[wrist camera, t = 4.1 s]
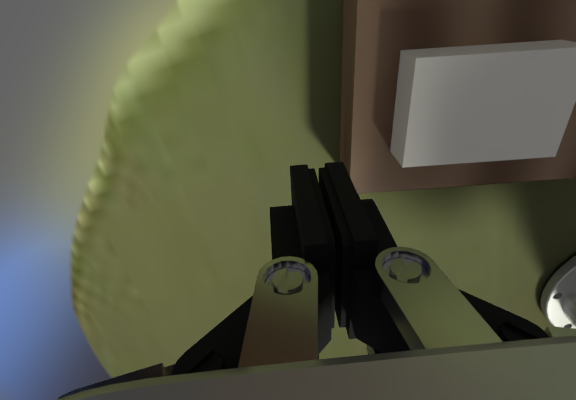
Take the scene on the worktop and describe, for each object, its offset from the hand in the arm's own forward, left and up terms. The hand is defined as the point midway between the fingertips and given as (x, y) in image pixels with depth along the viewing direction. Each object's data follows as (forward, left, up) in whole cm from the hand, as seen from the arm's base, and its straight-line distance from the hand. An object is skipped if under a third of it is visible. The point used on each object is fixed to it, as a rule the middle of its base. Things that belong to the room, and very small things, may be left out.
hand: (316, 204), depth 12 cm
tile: (-10, 0, -11) cm, 15 cm away
